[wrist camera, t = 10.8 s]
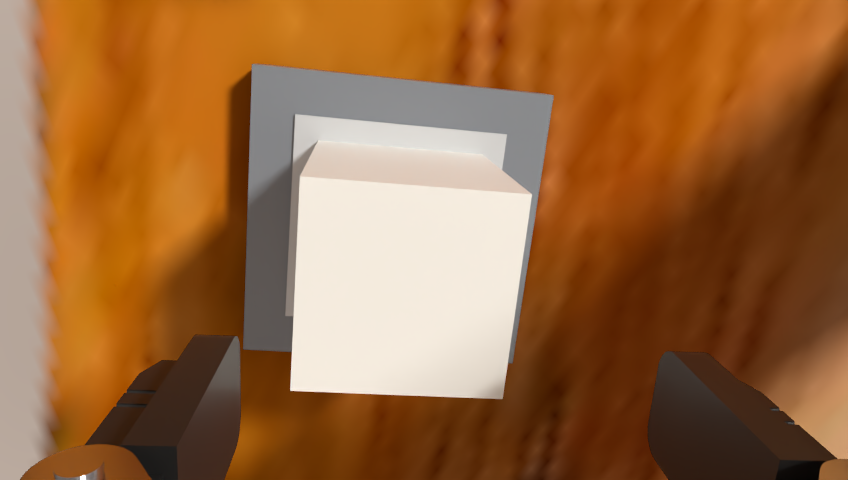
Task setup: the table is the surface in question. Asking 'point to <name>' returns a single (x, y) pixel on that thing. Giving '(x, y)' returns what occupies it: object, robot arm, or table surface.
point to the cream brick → (405, 272)
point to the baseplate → (372, 125)
